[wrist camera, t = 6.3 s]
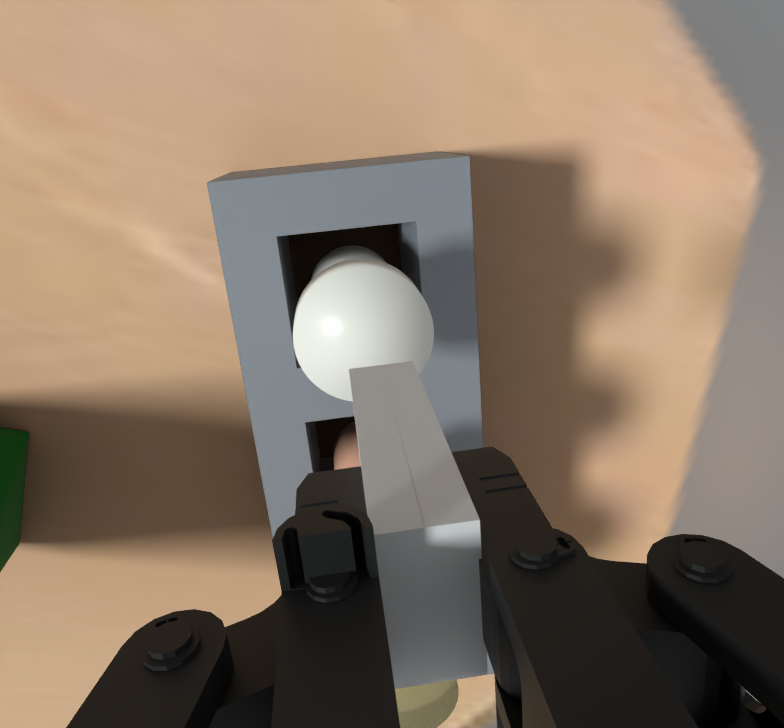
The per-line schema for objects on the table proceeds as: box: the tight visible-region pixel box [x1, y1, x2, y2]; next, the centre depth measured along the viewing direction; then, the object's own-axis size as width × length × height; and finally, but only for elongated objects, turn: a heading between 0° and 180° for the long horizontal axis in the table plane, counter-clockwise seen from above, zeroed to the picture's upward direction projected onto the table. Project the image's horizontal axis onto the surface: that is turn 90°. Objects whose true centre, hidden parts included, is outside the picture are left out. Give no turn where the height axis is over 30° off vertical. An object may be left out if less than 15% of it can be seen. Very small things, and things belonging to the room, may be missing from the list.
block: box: [207, 152, 494, 679], centre depth 32 cm, size 26×10×7 cm, turn 5°
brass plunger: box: [395, 680, 458, 728], centre depth 30 cm, size 5×5×7 cm
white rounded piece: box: [293, 245, 434, 402], centre depth 24 cm, size 5×5×7 cm
